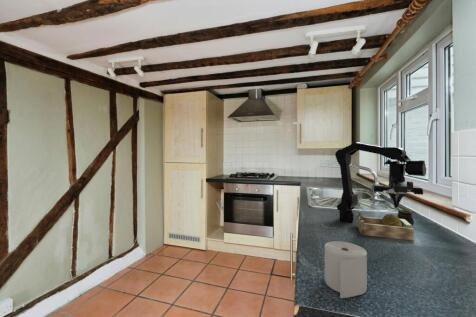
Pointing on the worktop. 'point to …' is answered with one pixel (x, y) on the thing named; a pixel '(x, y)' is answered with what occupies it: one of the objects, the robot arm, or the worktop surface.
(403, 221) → the pale green block
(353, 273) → the toilet tissue
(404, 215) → the mate gourd
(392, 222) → the potato
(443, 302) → the worktop surface
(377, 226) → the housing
